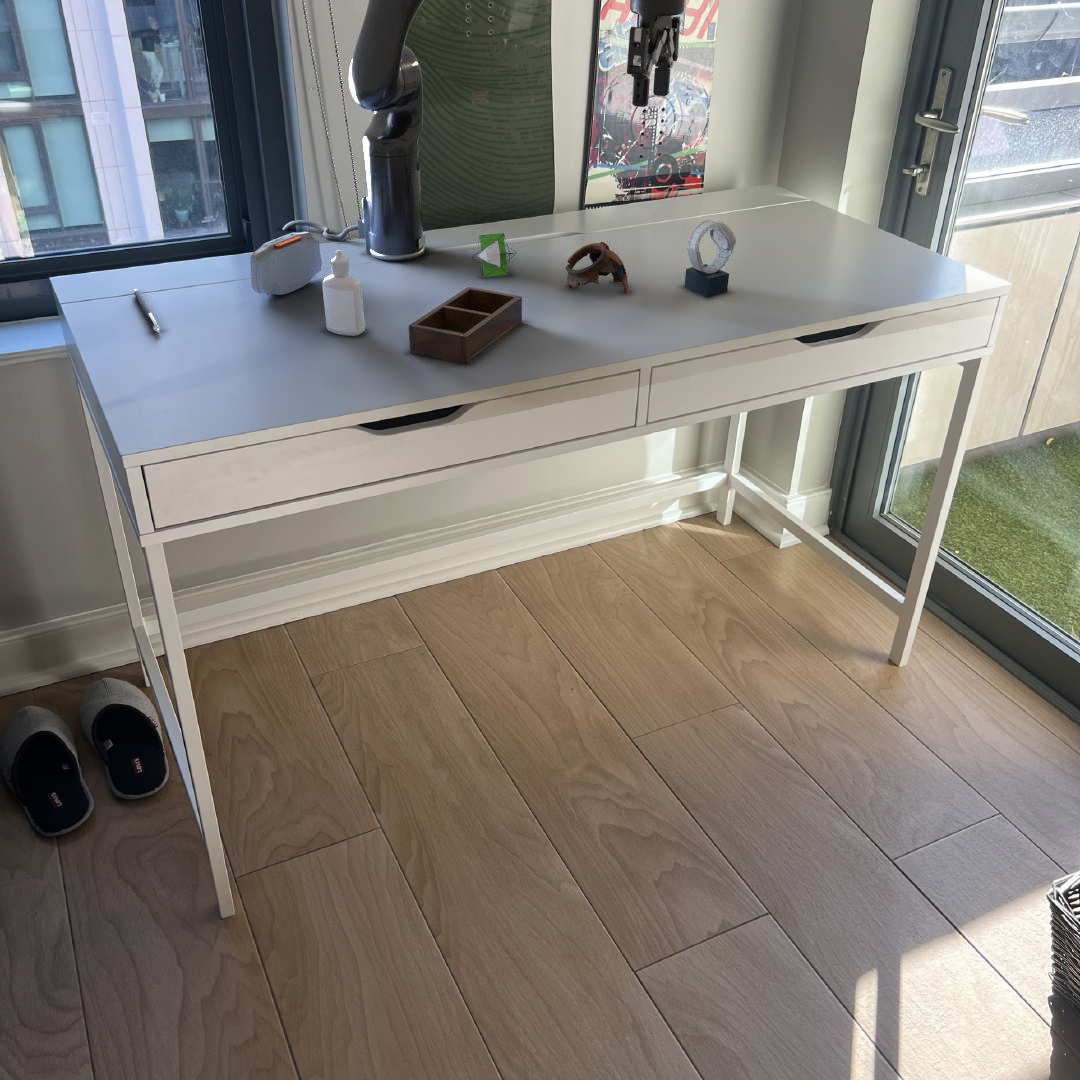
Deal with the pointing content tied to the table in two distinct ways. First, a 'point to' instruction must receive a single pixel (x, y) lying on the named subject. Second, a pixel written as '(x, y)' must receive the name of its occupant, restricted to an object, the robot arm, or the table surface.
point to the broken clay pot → (596, 266)
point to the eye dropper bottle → (343, 299)
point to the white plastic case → (285, 263)
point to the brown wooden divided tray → (465, 325)
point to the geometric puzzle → (493, 255)
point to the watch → (710, 276)
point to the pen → (147, 310)
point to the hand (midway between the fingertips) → (650, 100)
